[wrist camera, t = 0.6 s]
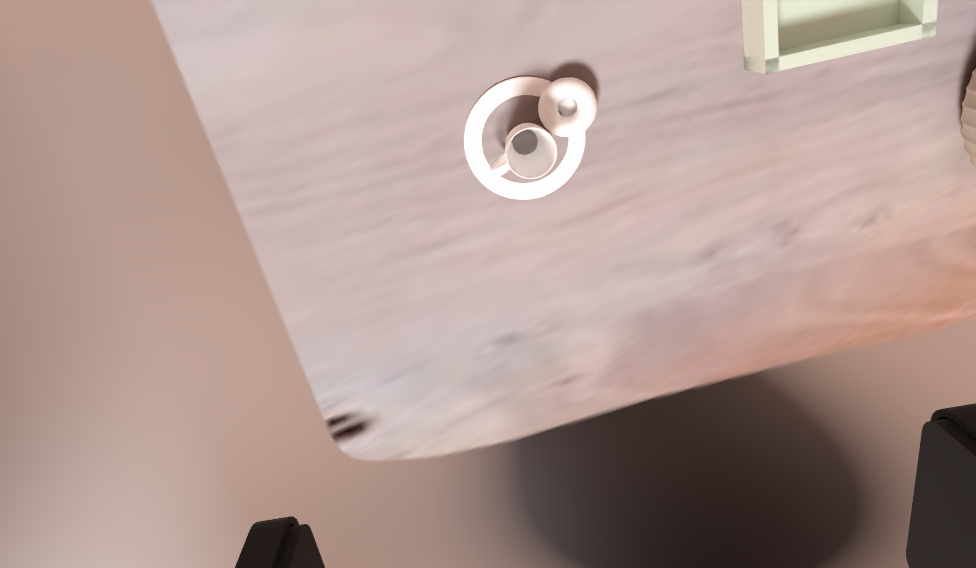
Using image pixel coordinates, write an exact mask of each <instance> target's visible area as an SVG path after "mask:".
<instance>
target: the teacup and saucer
mask: <svg viewBox="0 0 976 568" xmlns="http://www.w3.org/2000/svg"><path fill="white" fill-rule="evenodd" d="M520 95H533V96H538V97H540V99H539V103H538V113H539V117H540V120H541V122H542V124H543V125H544V126H545V127H546V129H547V130H549V131H550V132H551V133H553V134H555V135H558V136H562V137H569V143H568V149H567V152H566V155H565V157H564V159H563V161H562V162H561V164H560V165H559V167H558V168H557V169H556V170H555V171H554V172H553V173H551V174H550V175H549V176H547V177H546V178H544V179H542V180H539V181H536V182H532V183H515V182H511V181H508V180H506V179H504V178H502V177H501V175H503V174H504V173H506V172H507V171H508V170H509V169H511V170H512V171H513V172H514V173H515V174H516V175H518V176H520V177H522V178H527V179H534V178H538V177H541V176H543V175H545V174H546V173H547V172H549V171H550V170H551V168H552V167H553V165H554V163H555V161H556V158H557V146H556V143H555V141H554V139H553V137H552V136H551V135H550V134H549V133H548V132H547V131H546V130H545V129H543V128H542V127H540V126H538V125H536V124H533V123H523V124H520V125H517V126H516V127H514V128H513V129H512V130H511V131H510V133H509V134H508V136H507V139H506V142H505V152H504V153H503V154H502V155H501V156H500V157H499V158H498V159H497V160H496V161H495V162H494V164H493V165H492V167H490V166H489V164H488V163H487V161H486V159H485V157H484V154H483V150H482V143H481V138H482V131H483V127H484V124H485V122H486V120H487V118H488V116H489V115H490V113H491V112H492V111H493V110H494V109H495V108H496V107H497V106H498V105H499V104H500V103H502V102H503V101H505V100H507V99H509V98H512V97H515V96H520ZM574 100H575V101H574ZM576 103H577V104H576ZM558 110H559V111H560V112H561V113H562V115H563V116H562V115H560V114H559V112H558ZM596 112H597V100H596V97H595V94H594V92H593V90H592V89H591V88H590V87H589V85H587V84H586V83H585V82H583V81H582V80H580V79H577V78H572V77H570V78H560V79H557V80H555V81H554V82H551V81H548V80H545V79H542V78H538V77H528V76H525V77H516V78H511V79H508V80H505V81H503V82H500V83H498V84H496V85H495V86H493V87H492V88H490V89H489V90H488V91H486V92H485V93H484V94H483V95H482V96H481V97H480V98H479V100H478V101H477V102H476V104H475V105H474V107H473V108H472V110H471V112H470V114H469V117H468V119H467V122H466V126H465V132H464V148H465V154H466V158H467V161H468V163H469V165H470V168H471V169H472V171H473V173H474V174H475V176H476V177H477V178H478V179H479V181H480V182H481V183H482V184H483V185H485V186H486V187H487V188H488V189H490V190H491V191H493V192H495V193H497V194H499V195H501V196H504V197H507V198H512V199H521V200H525V199H534V198H538V197H542V196H545V195H547V194H549V193H551V192H553V191H555V190H556V189H558V188H559V187H561V186H562V185H563V184H564V183H565V182H566V181H567V180H568V179H569V178H570V177H571V176H572V175H573V173H574V172H575V170H576V169H577V167H578V165H579V163H580V161H581V158H582V155H583V152H584V148H585V139H586V133H585V130H586V129H587V128H588V127H589V126H590V125H591V123H592V122H593V120H594V118H595V116H596ZM526 129H529V130H531V131H533V132H534V133H535V134H536V136H537V140H538V144H537V147H536V149H535V150H534V151H533V152H532V153H530V154H527V155H522V154H519V153H517V152H516V151H515V150H514V148H513V145H512V139H513V137H514V136H515V135H516V134H518V133H519V132H521V131H523V130H526Z"/></svg>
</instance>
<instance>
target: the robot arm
mask: <svg viewBox="0 0 976 568" xmlns="http://www.w3.org/2000/svg"><path fill="white" fill-rule="evenodd" d="M906 558H907V563H908V565H909V568H976V403H975V404H969V405H963V406H957V407H951V408H945V409H940V410H937V411H935V412H934V413H933V415H932V418H931V421H930V422H926V423H925V424H924V425H923V429H922V435H921V442H920V450H919V457H918V465H917V473H916V480H915V488H914V496H913V503H912V511H911V519H910V527H909V534H908V542H907V549H906ZM235 568H325V566H324V564H323V561H322V559H321V555H320V553H319V550H318V548H317V544H316V542H315V539H314V536H313V534H312V531H311V529H310V527H309V526H308V525H307V524H303V525H299V523H298V521H297V519H295V518H294V517H285V518H279V519H273V520H266V521H260V522H256V523H255V524H253V525H252V527H251V529H250V531H249V534H248V536H247V538H246V541H245V544H244V546H243V549H242V551H241V554H240V556H239V559H238V561H237V564H236V566H235Z"/></svg>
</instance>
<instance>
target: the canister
mask: <svg viewBox="0 0 976 568" xmlns="http://www.w3.org/2000/svg"><path fill="white" fill-rule="evenodd" d="M962 106H963V111H962V116H961V118H960V119H961V122H962V131H961V134H962V137H963V138H964V141H965V144H964V147H965V150H966V151H967V153H968V154H969V156H970V161H971V162H972V164H973V165H974V166H975V167H976V68H975V70H974V71H973V72H972V77H971V80H970V82H969V84H968V86H967V87H966V96H965V99H964V101H963V102H962Z"/></svg>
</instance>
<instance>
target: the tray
mask: <svg viewBox="0 0 976 568" xmlns="http://www.w3.org/2000/svg"><path fill="white" fill-rule="evenodd" d="M937 4H938V0H741V7H742V28H743V48H744V69H745V70H749V71H754V72H759V73H763V74H768V73H772V72H777V71H781V70H785V69H790V68H794V67H799V66H803V65H807V64H812V63H816V62H821V61H825V60H830V59H834V58H838V57H843V56H847V55H852V54H856V53H860V52H865V51H869V50H874V49H878V48H882V47H887V46H891V45H896V44H900V43H904V42H909V41H913V40H918V39H922V38H926V37H931V36H935V34H936V19H937Z"/></svg>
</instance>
